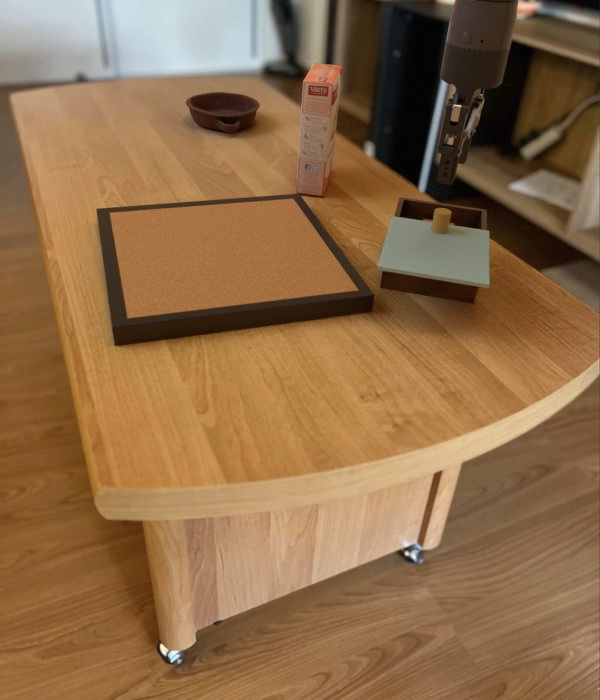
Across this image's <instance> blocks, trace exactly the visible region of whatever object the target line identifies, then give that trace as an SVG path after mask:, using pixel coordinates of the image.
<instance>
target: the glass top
mask: <svg viewBox="0 0 600 700" xmlns="http://www.w3.org/2000/svg"><path fill="white" fill-rule="evenodd" d="M451 213H452V212H451V211H450V210H449V209H446V208H437V209H435V211H434V216H433V221H432V222H428V221H421V220H415V219H408V218H401V217H395V216H394V215H392V216H391V218H390V222H389V226H388V228H387V232H386V234H385V239H384V242H383V245H382V249H381V253H380V255H379V256H380V257H379V259H378V263H377V266H376V270H377V271H382V272H383V271H387V272H393V273H399V274H405V275H411V276H417V277H423V278H429V279H435V280H441V281H447V282H453V283H459V284H466V285H472V286H478V288H484V289H489V288H490V285H491V283H490V281H491V280H490V277H491V276H490V275H491V273H490V270H491V268H490V266H491V265H490V261H491V260H490V253H491V252H490V250H491V249H490V230H488V229H487V230H480V229H474V228H467V227H461V226H454V225H449V223H450V218H451Z"/></svg>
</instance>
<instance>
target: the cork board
mask: <svg viewBox="0 0 600 700" xmlns="http://www.w3.org/2000/svg"><path fill="white" fill-rule="evenodd" d="M95 211H96V218H97V225H98V232H99V240H100V248H101V256H102V263H103V269H104V277H105V285H106V293H107V301H108V309H109V316H110V322H111V330H112V336H113V337H112V338H113V342H114V346H115V347H116V346H123V345H131V344H138V343H146V342H154V341H161V340H168V339H176V338H185V337H192V336H199V335H205V334H206V335H207V334H214V332H215V333H222V331H223V332H228V331H229V332H230V331H236V330H237V329H238V330H244V329H245V330H246V329H251V328H252V329H253V328H259V327H268V326H275V324H276V325H282V324H290V323H298V322H304V321H312V320H321V319H328V318H335V317H343V316H351V315H358V314H366V313H372V312H373V308H374V302H375V294H374V292H373V291H372V290H371V288H370V287H369V286H368V284H367V283H366V282H365V280H364V279H363V278H362V276H361V275H360V274H359V272H358V270H356V268H355V267H354V265H353V264H352V263H351V261H350V260H349V258H348V257H347V256H346V255H345V253H344V252H343V250H342V249H341V248H340V247H339V245H338V244H337V242H336V241H335V240H334V239H333V237H332V236H331V234H330V233H329V232H328V230H327V229H326V227H325V226H324V225H323V224H322V222H321V221H320V219H319V218H318V217H317V216H316V214H315V213H314V211H313V210H312V208H310V206H309V205H308V203H307V202H306V201H305V199H304V198H303V197H302V194H297V193H286V194H273V195H260V196H259V195H258V196H247V197H233V198H222V199H221V198H220V199H208V200H193V201H181V202H180V201H179V202H165V203H153V204H140V205H126V206H113V207H99V208H98V207H97V208H96V209H95ZM238 330H237V331H238Z"/></svg>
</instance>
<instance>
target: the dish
mask: <svg viewBox="0 0 600 700" xmlns="http://www.w3.org/2000/svg"><path fill="white" fill-rule="evenodd" d="M185 105H186V107H188V110H189V112H190V115H191V118H192V120H193V121H194V122H195V124H197V125H198V126H201V127H204V128H207V129H211V130H218V131H222V132H225V133H228V134H229V133H230V134H231V133H236V132H238V130H241V129H245V128H247V127H249V126H251V125H252V124H253V123H254V121H255V119H256V117H257V116H256V115H257V111H258V110H259V109H260V107H261V105H260V102H259V100H257V99H255V98H254V97H251V96H250V95H246V94H241V93H235V92H234V93H233V92H224V91H213V92H205V93H201V94H194V95H192V96H189V98H187V99H186V101H185Z"/></svg>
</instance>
